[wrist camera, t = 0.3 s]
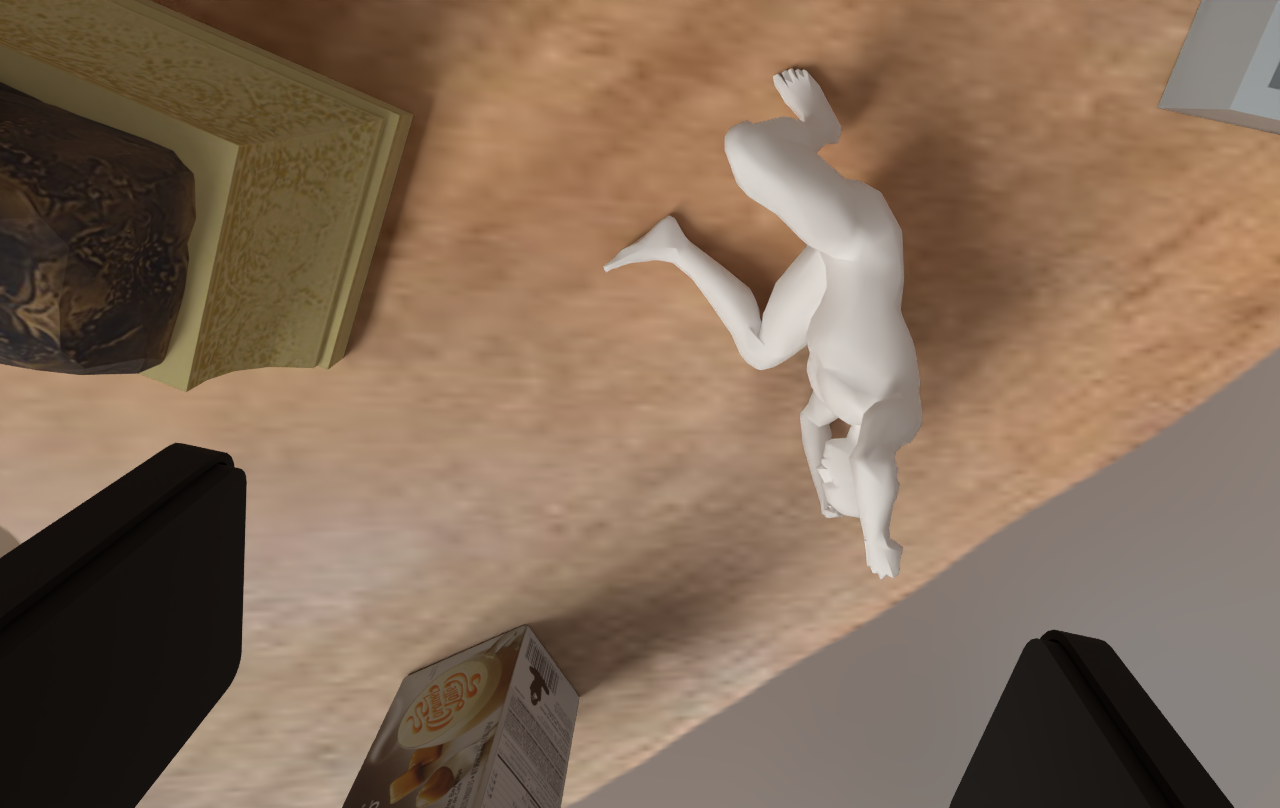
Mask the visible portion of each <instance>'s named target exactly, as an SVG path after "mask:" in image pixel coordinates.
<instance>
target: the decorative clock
mask: <svg viewBox="0 0 1280 808" xmlns="http://www.w3.org/2000/svg"><path fill="white" fill-rule="evenodd" d="M413 116H414V114H411V113H409V112H407V111H404V110H402V109H400V108H398V107H395V106H393V105H391V104H388V103H386V102H384V101H381V100H379V99H377V98H374V97H372V96H370V95H368V94H365V93H363V92H361V91H358V90H356V89H354V88H351V87H349V86H347V85H344V84H342V83H340V82H338V81H335V80H333V79H331V78H328V77H326V76H324V75H321V74H319V73H317V72H314V71H312V70H310V69H308V68H305V67H303V66H301V65H298V64H296V63H294V62H291V61H289V60H287V59H284V58H282V57H280V56H278V55H275V54H273V53H271V52H268V51H266V50H264V49H261V48H259V47H257V46H255V45H252V44H250V43H248V42H245V41H243V40H241V39H238V38H236V37H234V36H231V35H229V34H227V33H225V32H222V31H220V30H218V29H215V28H213V27H211V26H208V25H206V24H204V23H201V22H199V21H197V20H195V19H192V18H190V17H188V16H185V15H183V14H181V13H178V12H176V11H174V10H171V9H169V8H167V7H165V6H162V5H160V4H158V3H155V2H153V1H151V0H0V364H5V365H10V366H16V367H22V368H28V369H33V370H40V371H49V372H58V373H67V374H76V375H96V374H134V373H138V374H141V375H143V376H146V377H148V378H151V379H153V380H156V381H159V382H161V383H164V384H166V385H169V386H171V387H174V388H176V389H179V390H182V391H184V392H187V391H189V390H191V389H192V388H194V387H196V386H198V385H199V384H201V383H203V382H204V381H206V380H209V379H212V378H215V377H218V376H221V375H224V374H227V373H230V372H233V371H239V370H247V369H255V368H264V367H296V368H314V367H316V366H320V367H322V368H325V369H327V370H328V369H329V368H331V367H332V366H333V365H335V364H336V363H337V362H339V361H340V360H341V359H343V358H344V354H345V351H346V347H347V344H348V340H349V337H350V333H351V330H352V326H353V323H354V320H355V316H356V313H357V309H358V306H359V302H360V299H361V295H362V292H363V288H364V285H365V282H366V278H367V275H368V271H369V268H370V264H371V261H372V257H373V254H374V250H375V247H376V244H377V240H378V237H379V233H380V230H381V226H382V223H383V219H384V216H385V213H386V209H387V206H388V202H389V199H390V195H391V192H392V188H393V185H394V181H395V178H396V175H397V171H398V168H399V164H400V161H401V157H402V154H403V150H404V147H405V143H406V140H407V137H408V133H409V130H410V126H411V123H412V119H413Z"/></svg>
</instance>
